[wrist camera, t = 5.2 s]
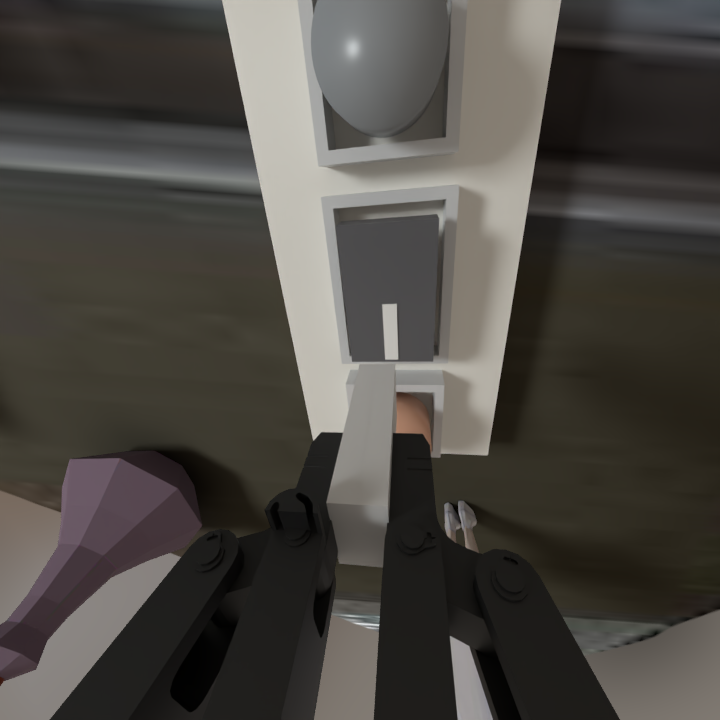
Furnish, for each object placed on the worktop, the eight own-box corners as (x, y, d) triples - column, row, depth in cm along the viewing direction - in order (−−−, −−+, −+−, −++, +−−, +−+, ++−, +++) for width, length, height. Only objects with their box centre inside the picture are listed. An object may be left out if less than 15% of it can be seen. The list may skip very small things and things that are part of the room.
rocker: (340, 221, 17) (335, 226, 16) (437, 214, 16) (439, 218, 15) (355, 350, 21) (351, 362, 20) (431, 349, 20) (433, 362, 19)
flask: (221, 448, 35) (40, 707, 18) (221, 529, 43) (99, 758, 26) (79, 409, 35) (-239, 631, 18) (107, 498, 43) (-91, 707, 26)
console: (243, -9, 17) (186, -74, 12) (550, -71, 14) (611, -179, 10) (322, 426, 31) (308, 465, 27) (480, 430, 29) (493, 474, 25)
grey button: (321, -1, 13) (299, -44, 11) (444, -24, 12) (452, -77, 10) (335, 143, 16) (321, 136, 13) (438, 131, 15) (444, 121, 12)
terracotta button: (360, 390, 23) (353, 417, 20) (430, 391, 22) (432, 419, 20) (365, 441, 25) (360, 471, 23) (428, 444, 25) (430, 474, 22)
